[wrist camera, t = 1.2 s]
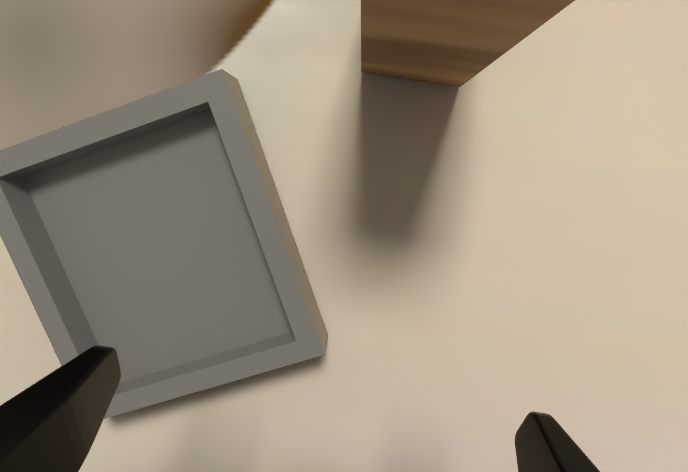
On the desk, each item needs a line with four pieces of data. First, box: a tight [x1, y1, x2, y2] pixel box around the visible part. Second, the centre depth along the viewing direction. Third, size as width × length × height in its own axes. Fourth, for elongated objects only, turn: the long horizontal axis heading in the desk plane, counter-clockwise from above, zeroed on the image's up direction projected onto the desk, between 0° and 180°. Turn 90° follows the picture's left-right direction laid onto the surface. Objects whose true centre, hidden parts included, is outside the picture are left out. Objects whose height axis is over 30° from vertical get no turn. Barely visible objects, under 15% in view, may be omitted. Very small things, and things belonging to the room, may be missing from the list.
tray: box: [0, 69, 328, 419], centre depth 20 cm, size 13×12×2 cm
